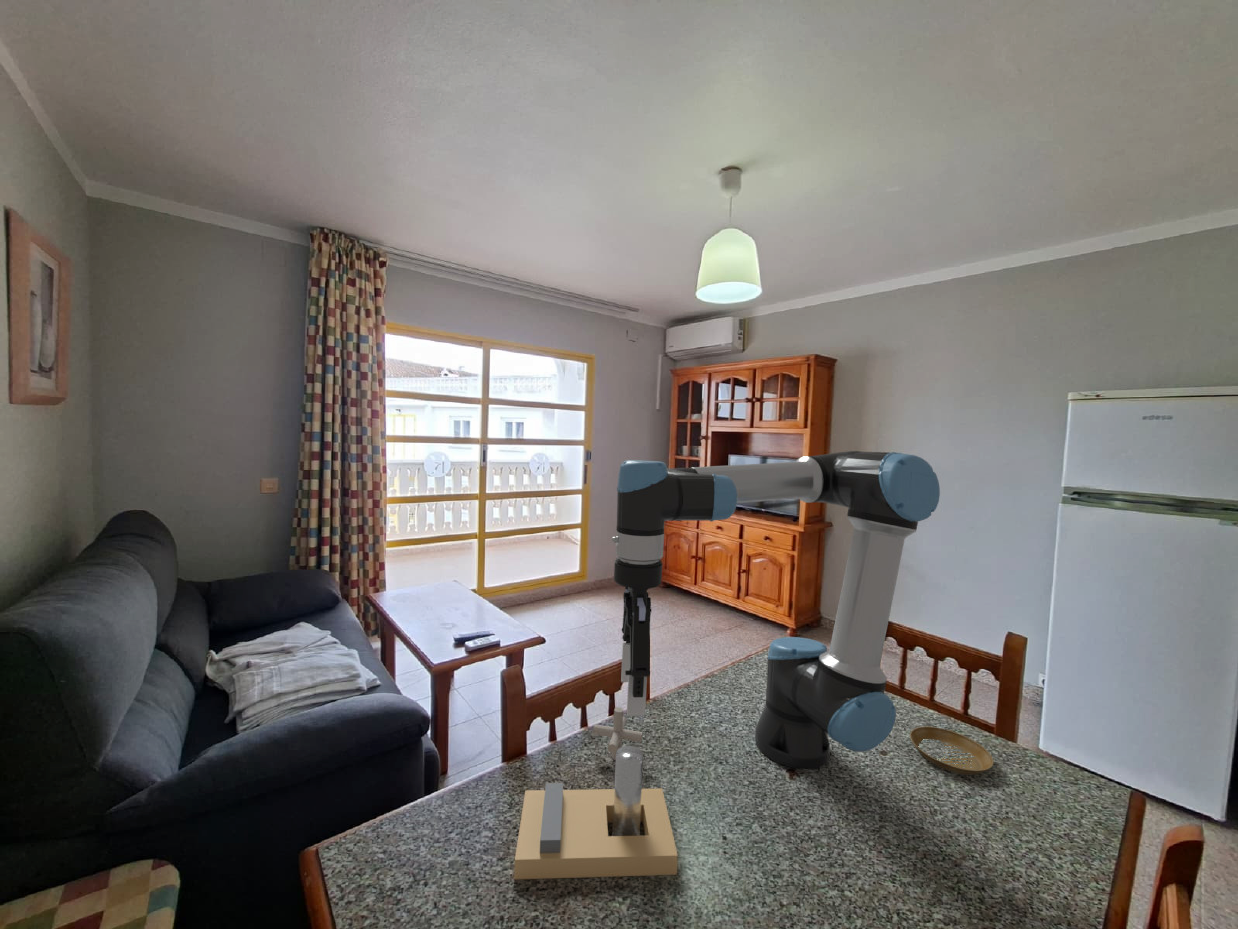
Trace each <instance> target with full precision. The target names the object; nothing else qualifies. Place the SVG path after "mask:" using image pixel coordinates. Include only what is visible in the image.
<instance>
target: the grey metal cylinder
mask: <svg viewBox="0 0 1238 929" xmlns="http://www.w3.org/2000/svg"><path fill="white" fill-rule="evenodd" d="M614 768H615V771H614V788H613V789H614V810H613V822H612V834H611V836H641V835H640V834H641V822H640V814H641V793H642V789H643V788H642V787H643V772H644V771H643V768H644V752H643V750H641V749H640V748H638V747H637V746H634V745H624V746H622V747H621V748H619V749H618V750H617V752H616V760H615V766H614Z"/></svg>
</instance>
